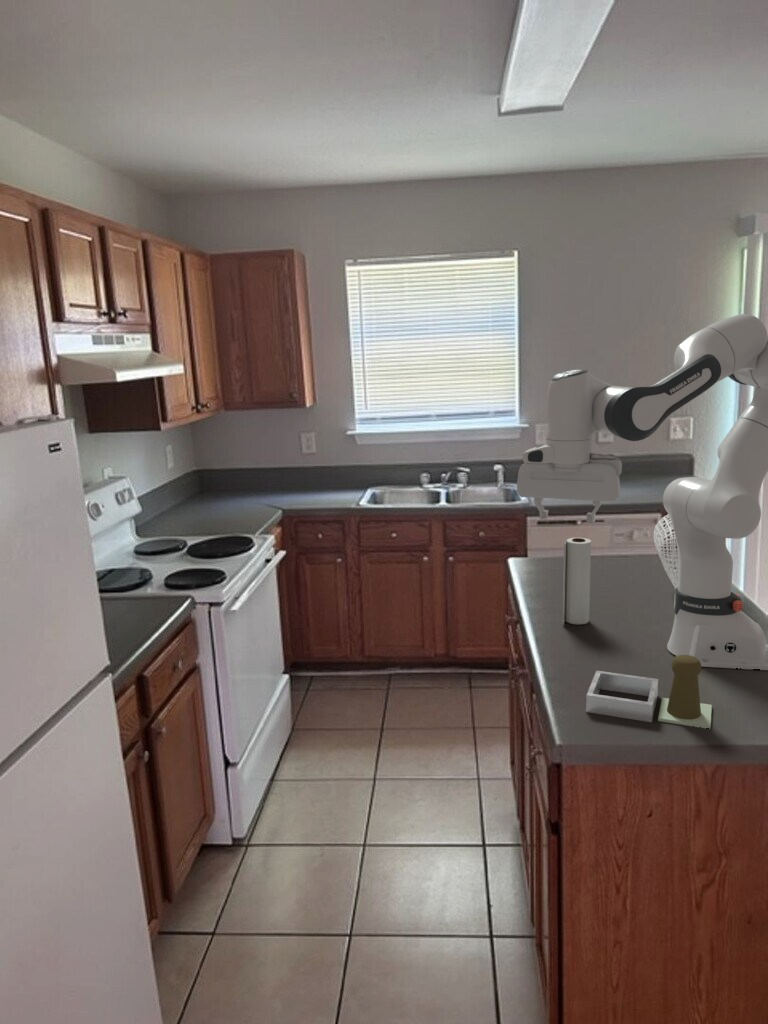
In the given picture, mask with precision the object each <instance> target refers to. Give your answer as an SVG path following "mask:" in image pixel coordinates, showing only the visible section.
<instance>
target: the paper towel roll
mask: <svg viewBox="0 0 768 1024" xmlns="http://www.w3.org/2000/svg"><path fill="white" fill-rule="evenodd" d="M564 541H565V542H564V544H563V575H562V576H563V579H562V582H563V583H562V625H564V624H565V622H566V623H568V624H571V625H587V624H588V623H590V602H591V601H590V597H591V561H592V560H591V559H592V558H591V557H592V555H591V553H592V540H591V539H590V538H585V537H569V538H567V539H566V540H564Z"/></svg>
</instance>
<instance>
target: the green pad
mask: <svg viewBox="0 0 768 1024" xmlns="http://www.w3.org/2000/svg"><path fill="white" fill-rule="evenodd" d="M668 702H669V697H668V698H666V697H661V701H660V707H659V712H658V718H657V722H662V723H669V724H675V725H681V726H689V727H693V726H694V728H700V727H701V728H700V729H706V728H709V729H708V730H711V727H712V726H711V724H712V711H713V710H712V707H713V705H712V704H710V703H709V704H708V703H702V702H700V708H701V716H700V717H699V718H696V719H680V718H677V717H674V716H672V715H670V714H669V713H668V712H667V707H668Z"/></svg>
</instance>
